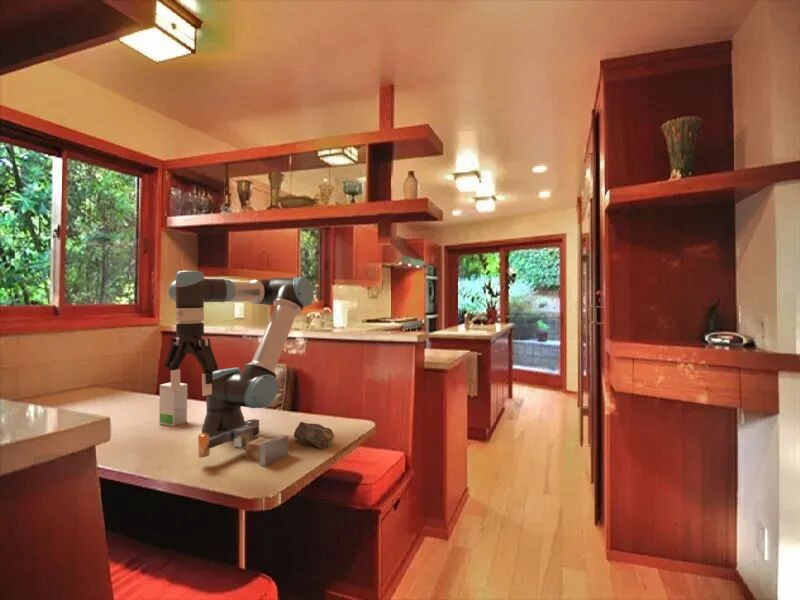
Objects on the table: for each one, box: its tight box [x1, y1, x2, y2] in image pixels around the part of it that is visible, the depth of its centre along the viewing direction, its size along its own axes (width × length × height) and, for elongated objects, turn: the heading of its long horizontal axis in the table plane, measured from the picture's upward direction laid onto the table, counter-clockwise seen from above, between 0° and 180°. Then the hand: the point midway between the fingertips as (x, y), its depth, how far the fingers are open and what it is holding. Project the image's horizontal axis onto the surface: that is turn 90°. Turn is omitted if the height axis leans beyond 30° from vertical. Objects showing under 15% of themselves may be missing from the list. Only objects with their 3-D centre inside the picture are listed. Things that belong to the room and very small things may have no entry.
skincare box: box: [158, 381, 188, 427], centre depth 171 cm, size 8×7×16 cm
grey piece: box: [234, 433, 289, 467], centre depth 138 cm, size 21×16×6 cm
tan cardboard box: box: [245, 436, 273, 463], centre depth 133 cm, size 5×6×5 cm
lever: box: [197, 418, 260, 458], centre depth 135 cm, size 7×23×6 cm, turn 154°
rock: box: [293, 421, 335, 449], centre depth 145 cm, size 17×7×10 cm
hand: (191, 393), depth 130 cm, fingers open, 13 cm apart
